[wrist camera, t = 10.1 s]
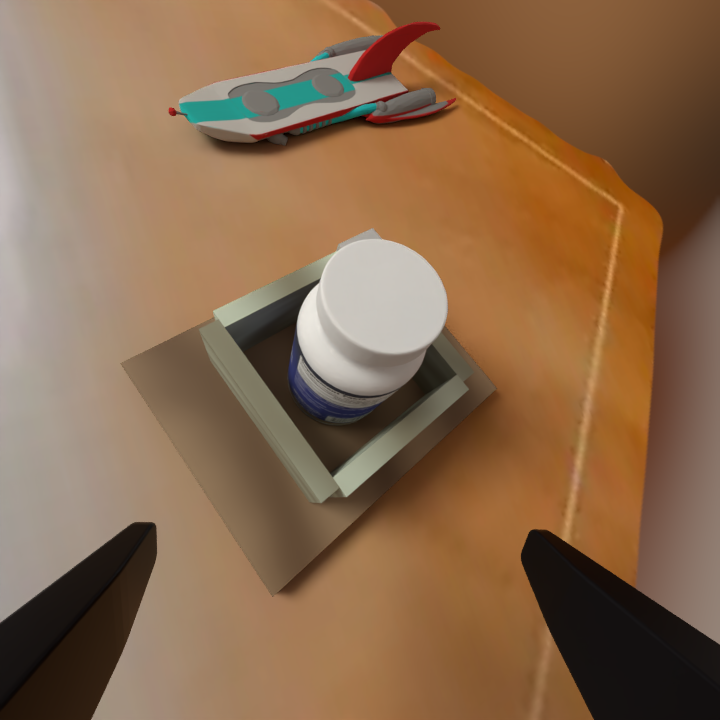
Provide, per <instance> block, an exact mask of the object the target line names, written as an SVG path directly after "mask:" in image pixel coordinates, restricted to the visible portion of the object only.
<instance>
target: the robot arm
mask: <svg viewBox="0 0 720 720" xmlns="http://www.w3.org/2000/svg"><path fill="white" fill-rule="evenodd" d="M156 556H157V533H156V525H155V524H154V523H153V522H135V523H132V524H131V525H129V526H128V527H127V528H125V529H124V530H123V531H121V532H120V533H119V534H117V535H116V536H115V537H113V538H112V539H111V540H109V541H108V542H107V543H105V544H104V545H103V546H101V547H100V548H99V549H97V550H96V551H95V552H93V553H92V554H91V555H89V556H88V557H87V558H85V559H84V560H83V561H81V562H80V563H79V564H77V565H76V566H75V567H74V568H72V569H71V570H70V571H68V572H67V573H66V574H64V575H63V576H62V577H60V578H59V579H58V580H56V581H55V582H54V583H52V584H51V585H50V586H48V587H47V588H46V589H44V590H43V591H42V592H40V593H39V594H38V595H36V596H35V597H34V598H32V599H31V600H30V601H28V602H27V603H26V604H24V605H23V606H22V607H21V608H19V609H18V610H17V611H15V612H14V613H13V614H11V615H10V616H9V617H7V618H6V619H5V620H3V621H2V622H1V623H0V720H91V719H92V717H93V714H94V712H95V710H96V708H97V706H98V704H99V702H100V699H101V697H102V695H103V693H104V691H105V689H106V686H107V684H108V682H109V680H110V678H111V676H112V674H113V671H114V669H115V667H116V665H117V663H118V661H119V658H120V656H121V654H122V652H123V649H124V647H125V644H126V642H127V639H128V637H129V634H130V631H131V628H132V626H133V623H134V620H135V617H136V614H137V612H138V609H139V606H140V603H141V601H142V598H143V595H144V592H145V589H146V587H147V584H148V581H149V578H150V575H151V573H152V570H153V567H154V564H155V561H156ZM521 561H522V565H523V567H524V570H525V572H526V575H527V577H528V580H529V582H530V585H531V587H532V589H533V592H534V594H535V597H536V599H537V602H538V604H539V607H540V609H541V612H542V614H543V617H544V619H545V621H546V624H547V626H548V628H549V630H550V633H551V635H552V637H553V639H554V641H555V643H556V645H557V647H558V649H559V651H560V653H561V655H562V657H563V659H564V661H565V663H566V665H567V667H568V669H569V671H570V673H571V675H572V677H573V679H574V681H575V683H576V685H577V687H578V689H579V691H580V693H581V695H582V697H583V699H584V701H585V703H586V705H587V707H588V709H589V711H590V713H591V715H592V717H593V719H594V720H720V645H719V644H718V643H716V642H715V641H713V640H712V639H710V638H709V637H707V636H706V635H704V634H703V633H701V632H700V631H698V630H697V629H695V628H694V627H692V626H691V625H689V624H688V623H686V622H685V621H683V620H682V619H680V618H679V617H677V616H676V615H674V614H673V613H671V612H670V611H668V610H667V609H665V608H664V607H662V606H661V605H659V604H658V603H656V602H655V601H653V600H651V599H650V598H649V597H647V596H646V595H644V594H643V593H641V592H640V591H638V590H637V589H635V588H634V587H632V586H631V585H629V584H628V583H626V582H625V581H623V580H622V579H620V578H619V577H617V576H616V575H614V574H613V573H611V572H610V571H608V570H607V569H605V568H604V567H602V566H601V565H599V564H598V563H596V562H595V561H593V560H592V559H590V558H589V557H587V556H586V555H584V554H583V553H581V552H580V551H578V550H577V549H575V548H574V547H572V546H571V545H569V544H568V543H566V542H565V541H563V540H562V539H560V538H559V537H557V536H556V535H554V534H553V533H551V532H550V531H548V530H538V529H534V530H531V531H530V532H529V534H528V536H527V539H526V542H525V544H524V547H523V549H522V552H521Z"/></svg>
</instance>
